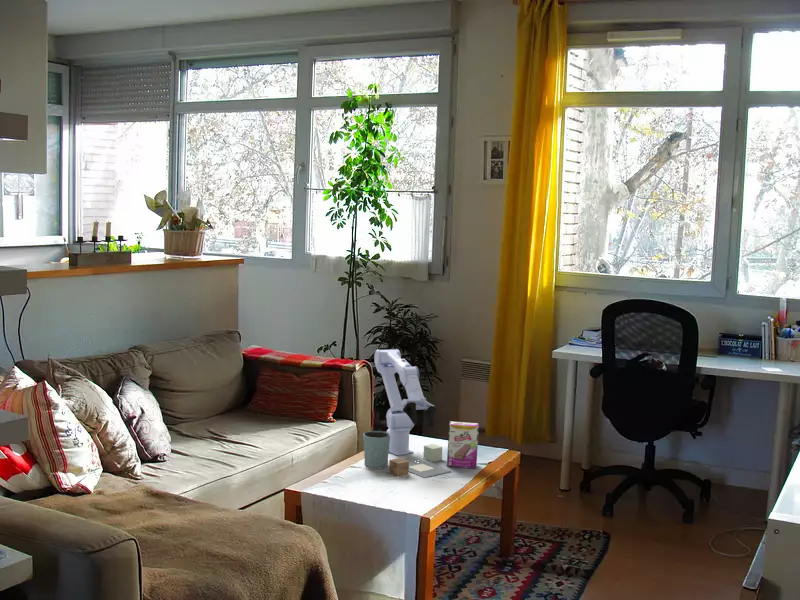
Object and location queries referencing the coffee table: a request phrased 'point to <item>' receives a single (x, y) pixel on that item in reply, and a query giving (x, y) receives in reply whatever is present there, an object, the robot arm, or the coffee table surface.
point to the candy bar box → (462, 444)
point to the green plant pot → (376, 449)
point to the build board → (425, 468)
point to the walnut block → (398, 467)
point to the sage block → (433, 452)
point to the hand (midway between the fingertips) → (423, 424)
